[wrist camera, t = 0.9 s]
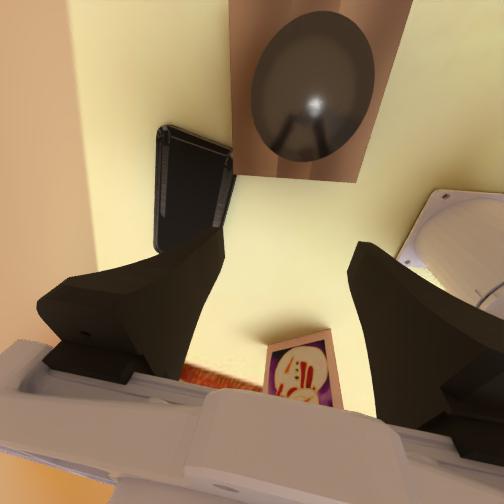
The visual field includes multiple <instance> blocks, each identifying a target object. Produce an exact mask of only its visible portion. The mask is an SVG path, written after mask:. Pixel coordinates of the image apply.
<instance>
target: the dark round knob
mask: <svg viewBox="0 0 504 504" xmlns="http://www.w3.org/2000/svg"><path fill="white" fill-rule="evenodd" d="M374 81H375V67H374V58H373V54H372V50H371V47H370V45H369V42H368V40H367V38H366V37H365V35H364V33H363V32H362V30H361V29H360V28H359V27H358V26H357V25H356V24H355V23H354V22H353V21H352V20H350V19H349V18H348V17H346V16H344V15H342V14H339V13H335V12H332V11H315V12H310V13H307V14H304V15H301V16H299V17H297V18H295V19H293V20H292V21H290V22H289V23H288V24H286V25H285V26H284V27H283V28H282V29H280V30H279V31H278V32H277V33H276V35H275V36H274V37H273V38H272V39H271V40H270V42H269V43H268V45H267V46H266V48H265V49H264V51H263V53H262V55H261V57H260V59H259V62H258V64H257V67H256V69H255V73H254V77H253V81H252V87H251V110H252V117H253V121H254V124H255V127H256V129H257V132H258V134H259V136H260V138H261V139H262V140H263V142H264V143H265V145H266V146H267V147H268V148H269V149H270V150H271V151H273V152H274V153H275V154H277V155H278V156H280V157H282V158H284V159H286V160H290V161H294V162H311V161H315V160H319V159H322V158H324V157H327V156H328V155H330V154H332V153H334V152H335V151H337V150H338V149H339V148H341V147H342V146H343V145H344V144H345V143H346V142H347V141H348V140H349V139H350V138H351V137H352V136H353V134H354V133H355V132H356V130H357V129H358V128H359V126H360V124H361V123H362V121H363V119H364V117H365V115H366V113H367V111H368V108H369V105H370V102H371V98H372V94H373V90H374Z"/></svg>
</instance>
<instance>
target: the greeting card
mask: <svg viewBox="0 0 504 504" xmlns="http://www.w3.org/2000/svg"><path fill="white" fill-rule="evenodd" d="M262 393H264V394H269V395H274V396H279V397H284V398H289V399H294V400H299V401H304V402H308V403H313V404H318V405H323V406H328V407H333V408H338V409H343V410H344V408H343V402H342V395H341V389H340V383H339V377H338V371H337V365H336V359H335V353H334V346H333V340H332V334H331V329H328V330H324V331H320V332H316V333H313V334H309V335H305V336H301V337H298V338H294V339H290V340H286V341H283V342H279V343H275V344H271V345H268V349H267V357H266V366H265V375H264V384H263V392H262Z"/></svg>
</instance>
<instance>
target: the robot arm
mask: <svg viewBox="0 0 504 504" xmlns="http://www.w3.org/2000/svg"><path fill="white" fill-rule="evenodd" d="M445 194H447V196H446V197H444V198H442V197H443V196H444V195H445ZM224 259H225V250H224V237H223V228H221V227H211V228H208V229H207V230H205V231H203V232H201V233H200V234H198V235H196V236H194V237H193V238H191V239H189V240H187V241H186V242H184V243H182V244H180V245H178V246H176V247H174V248H172V249H170V250H168V251H165V252H163V253H161V254H158V255H156V256H153V257H151V258H148V259H145V260H142V261H138V262H135V263H132V264H129V265H125V266H122V267H118V268H114V269H110V270H105V271H101V272H96V273H90V274H85V275H80V276H74V277H69V278H67V279H66V280H64V281H63V282H62V283H60V284H59V285H58V286H56V287H55V288H54V289H52V290H51V291H50V292H48V293H47V294H46V295H44V296H43V297H42V298H40V299H39V300H38V301H37V311H38V314H39V315H40V317H41V318H42V319H43V321H44V322H45V323H46V324H47V325H48V326H49V327H50V328H51V329H52V330H53V332H54V333H55V334H56V335H57V336H58V337H59V338H60V339H61V340H62V341H61V342H60V343H59V344H58V345H57V346H56V347H55V348H53V347H52V346H50V345H47V344H44V343H39V342H35V341H30V340H25V339H19V340H17V341H16V342H14V343H13V344H12V345H11V346H10V347H8V348H7V349H6V350H5V351H4V352H2V353H1V354H0V452H3V453H7V454H10V455H13V456H17V457H21V458H24V459H27V460H30V461H34V462H37V463H40V464H44V465H47V466H50V467H54V468H57V469H61V470H63V471H67V472H71V473H73V474H77V475H80V476H83V477H86V478H90V479H93V480H96V481H100V482H103V483H106V484H109V485H113V486H116V487H115V489H114V491H113V493H112V495H111V497H110V499H109V502H108V504H504V194H501V193H487V192H473V191H459V190H445V189H438V190H435V191H434V192H432V194H431V195H430V197H429V199H428V201H427V202H426V204H425V206H424V208H423V210H422V212H421V214H420V215H419V217H418V219H417V221H416V223H415V225H414V226H413V228H412V230H411V232H410V234H409V236H408V238H407V239H406V241H405V243H404V245H403V247H402V249H401V250H400V252H399V254H398V256H397V258H396V259H394V258H393V257H392V256H390V255H389V254H387V253H386V252H385V251H383V250H382V249H380V248H379V247H378V246H376V245H375V244H373V243H371V242H361V241H358V244H357V246H356V249H355V252H354V254H353V257H352V260H351V262H350V265H349V268H348V270H347V276H348V283H349V288H350V292H351V295H352V298H353V301H354V304H355V307H356V310H357V313H358V317H359V320H360V323H361V326H362V330H363V333H364V338H365V343H366V348H367V353H368V359H369V364H370V370H371V376H372V383H373V391H374V398H375V406H376V416H377V418H374V417H370V416H367V415H364V414H361V413H358V412H353V411H348V410H343V409H338V408H333V407H328V406H323V405H318V404H313V403H308V402H304V401H299V400H294V399H289V398H284V397H279V396H274V395H269V394H264V393H259V392H254V391H249V390H241V389H230V388H224V389H220V390H219V389H214V388H209V387H205V386H200V385H195V384H190V383H185V382H180V381H179V379H180V375H181V372H182V368H183V365H184V361H185V358H186V355H187V352H188V349H189V345H190V342H191V339H192V336H193V333H194V330H195V328H196V325H197V322H198V319H199V316H200V314H201V311H202V308H203V306H204V304H205V302H206V300H207V298H208V296H209V294H210V292H211V290H212V288H213V286H214V284H215V282H216V280H217V277H218V275H219V273H220V271H221V268H222V265H223V262H224ZM407 260H408V261H407ZM405 261H407V262H405ZM405 266H412V267H420V268H428V269H429V271H430V272H431V273H432V274H433V275H434V277H435V278H436V279H437V280H438V281H439V283H440V284H441V285H442V286H443V287H444V288H445V290H446V291H447V292H448V293H447V292H446V291H444V290H442V289H440V288H438V287H437V286H435V285H433V284H432V283H430V282H428V281H427V280H425V279H424V278H422V277H420V276H419V275H417V274H416V273H414V272H413V271H411V270H410V269H408V268H407V267H405Z"/></svg>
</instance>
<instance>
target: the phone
mask: <svg viewBox="0 0 504 504" xmlns="http://www.w3.org/2000/svg"><path fill="white" fill-rule="evenodd" d="M236 177H237V175H236V174H233V149H232V148H230V147H227V146H224V145H222V144H219V143H217V142H214V141H212V140H209V139H207V138H204V137H201V136H199V135H196V134H194V133H191V132H189V131H186V130H184V129H181V128H178V127H176V126H173V125H165V126H161V127H160V128H159V129H158V131H157V135H156V166H155V203H154V240H153V246H154V249H155V250H156V251H157V252H158V253H159V254H161V253H163V252H165V251H168V250H170V249H172V248H174V247H176V246H178V245H180V244H182V243H184V242H186V241H187V240H189V239H191V238H193V237H194V236H196V235H198V234H200V233H201V232H203V231H205V230H207V229H208V228H211V227H221V228H223V225H224V222H225V218H226V214H227V211H228V207H229V203H230V200H231V196H232V192H233V188H234V185H235V181H236Z"/></svg>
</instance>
